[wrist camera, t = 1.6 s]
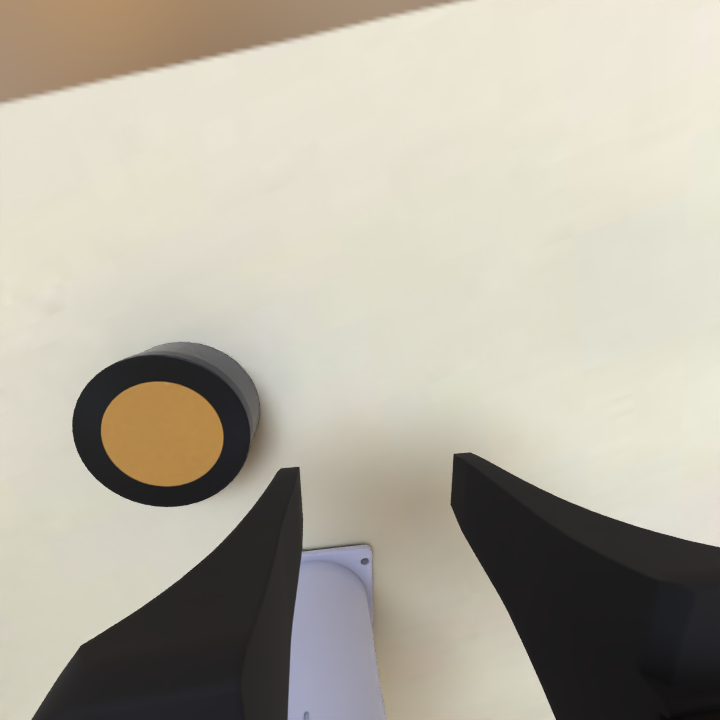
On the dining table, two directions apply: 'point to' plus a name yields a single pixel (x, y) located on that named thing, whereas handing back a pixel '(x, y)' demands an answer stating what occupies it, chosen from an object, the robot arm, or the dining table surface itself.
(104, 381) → the tin
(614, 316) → the dining table surface
